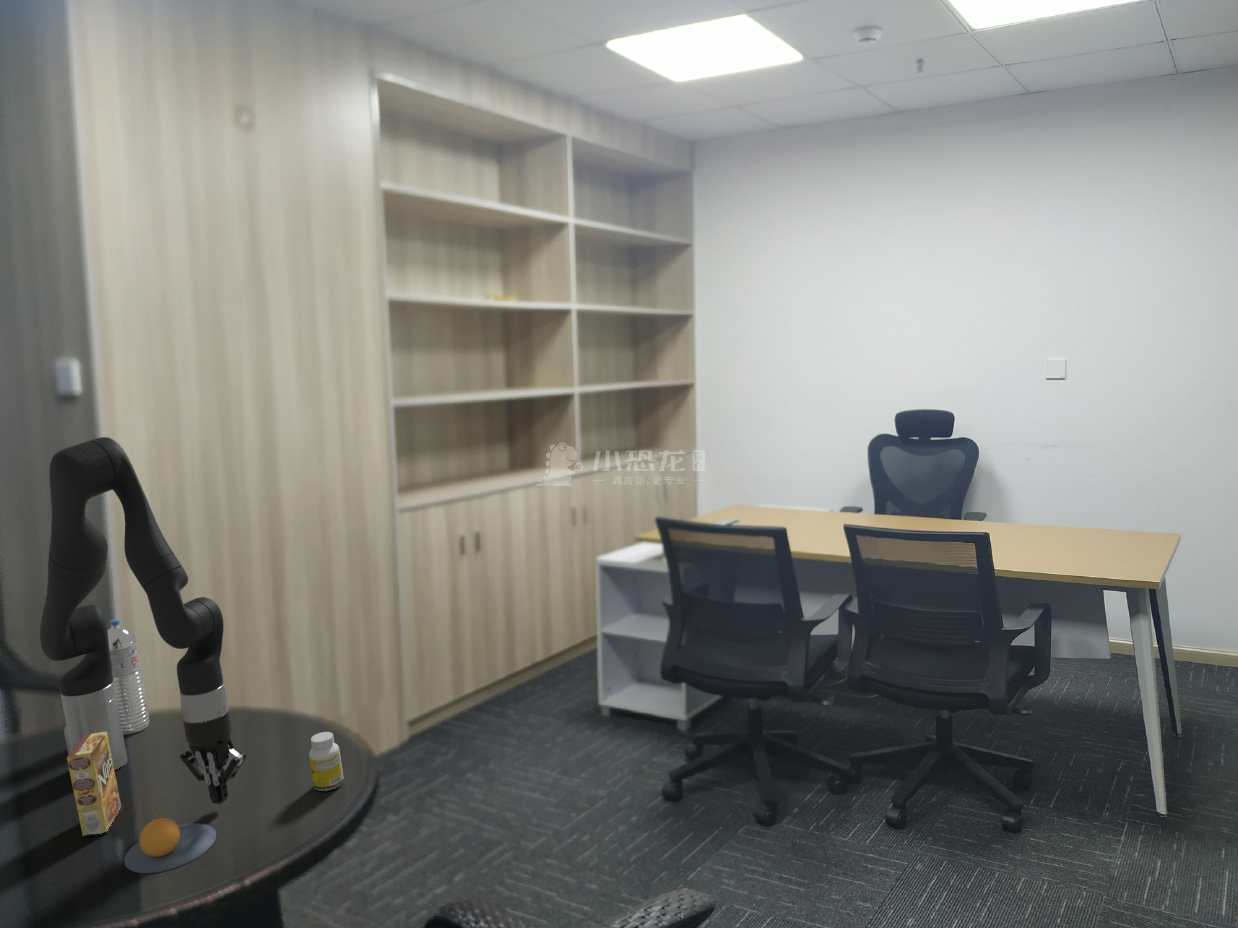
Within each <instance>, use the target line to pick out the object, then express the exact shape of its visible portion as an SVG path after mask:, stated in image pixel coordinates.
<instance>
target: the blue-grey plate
mask: <svg viewBox="0 0 1238 928" xmlns="http://www.w3.org/2000/svg"><path fill="white" fill-rule="evenodd" d="M177 825H178V827H179V830H180V839H179V842H178V844H177V846H176V847H175V848H174V850H172V851H171V852H170V853H169V854H167V855H164V856H161V857H152V856H149V855H147V854H146V853H144V852H143V850H142V849H141V847H140V840H139V841H138V842H136V843H135V844H134V845H133V846H132V847H130V848H129V850H127V852H126V854H125V856H124V859H123V861H124V862H123V863H124V866H125V867H126V869H128V870H129V871H130V872H134V873H138V874H156V873H162V872H166V871H170V870H174V869H176V868H179V867H182V866H185V865H187V864H188V863H191V862H192V861H194V860H196V859H198V858H199V857H201V856H203V855H204V854H205V853H206V852H208V850H210V849H211V848H212V847H213V845H214V844H215V842H216V840H217V832H216V830H215V828H214V827H213V826H211V825H208V824H205V823H198V822H197V823H194V822H193V823H192V822H191V823H183V824H177Z"/></svg>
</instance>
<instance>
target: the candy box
mask: <svg viewBox="0 0 1238 928" xmlns="http://www.w3.org/2000/svg"><path fill="white" fill-rule="evenodd" d="M66 760H67V765H68V771H69V775H70V779H71V785H72V790H73V796H74V799H75V805H76V809H77V813H78V819H79V824H80V829H81V833H82V836H83V835H87V834H100V835H103V834H102V833H104V832H107V831H108V832H109V830H110V829H109V827H110V826H111V827H112V825H113V824H112V822H113V821H114V822H115V820H116V819H115V817H116V816H117V817H118V815H119V813H120V812H119V810H120V808H121V807H122V803H121V798H120V793H119V787H118V783H117V777H116V771H114V767H113V761H112V756H111V751H110V746H109V740H108V735H107V732H100V733H94V734H88V735H84V736H83V737H82V739H81V740H80V741H79V743H78V744H77V745H76V747H75V748H74V749H73V750H72V752H71V753H70V754H68V755H67V756H66ZM121 809H122V808H121ZM120 811H121V810H120ZM118 812H119V813H118ZM117 814H118V815H117ZM117 817H116V818H117ZM114 819H115V820H114ZM114 822H113V823H114ZM111 824H112V825H111ZM111 827H110V828H111ZM108 829H109V830H108ZM108 832H107V833H108Z"/></svg>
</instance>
